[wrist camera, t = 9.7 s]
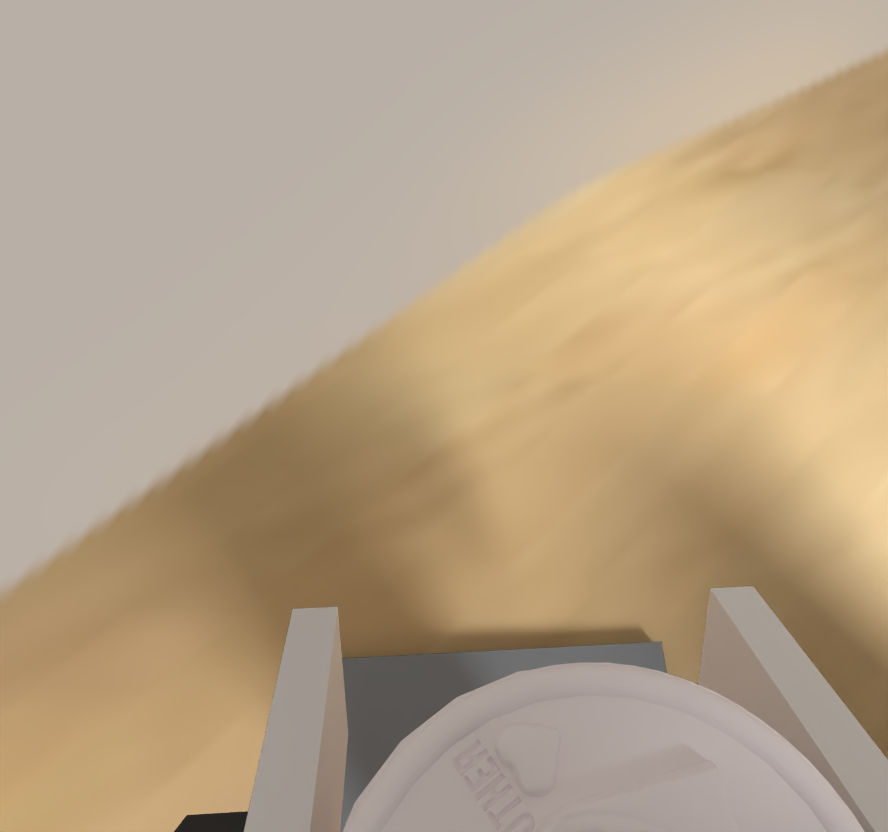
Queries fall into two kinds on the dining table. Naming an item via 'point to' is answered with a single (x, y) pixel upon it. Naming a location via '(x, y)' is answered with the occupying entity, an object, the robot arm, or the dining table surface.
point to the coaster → (441, 693)
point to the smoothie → (597, 762)
